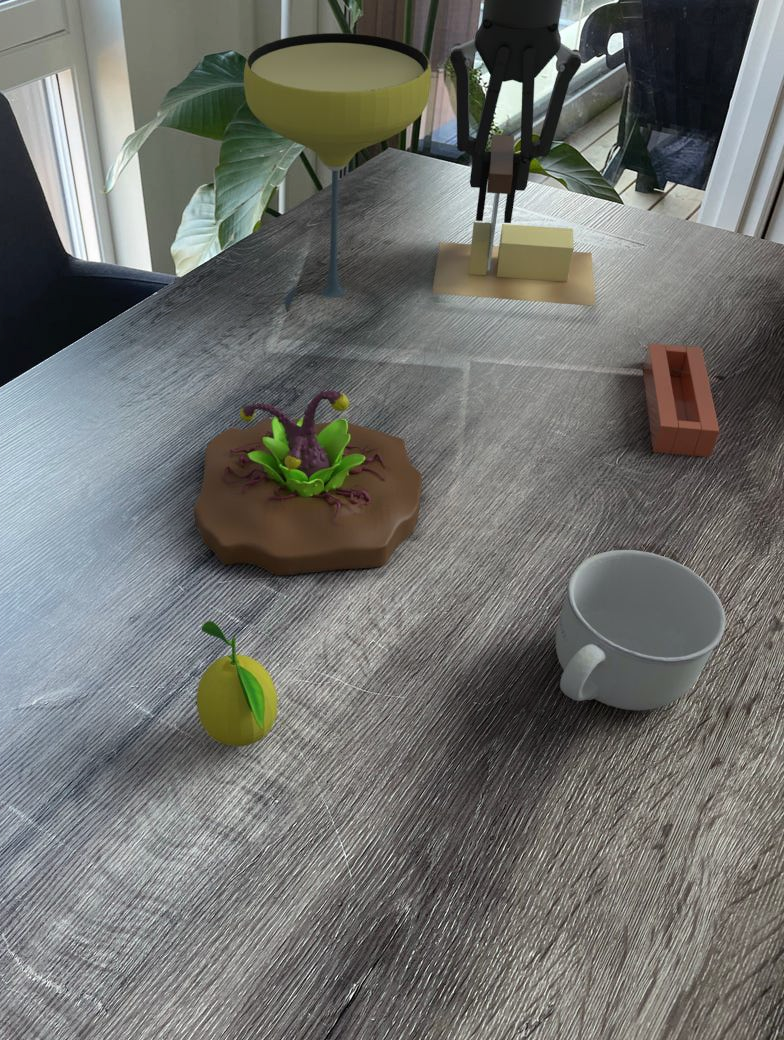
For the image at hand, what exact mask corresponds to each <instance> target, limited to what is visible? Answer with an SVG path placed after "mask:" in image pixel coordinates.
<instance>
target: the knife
mask: <svg viewBox="0 0 784 1040" xmlns="http://www.w3.org/2000/svg"><path fill="white" fill-rule="evenodd" d="M514 150H515V135H503V134H492V137H491V145H490V152H491V158H490V167H489V175H488V183H487V191H486V194H493V195H494V196H493V202H492V210H491V219H490V223H491V232H490V244H489V253H488V263H487V271H490V264H491V256H492V249H493V246H494V240H495V233H496V225H497V218H498V210H499V204H500V195H507V194H510V190H511V182H512V175H513V153H515V151H514Z"/></svg>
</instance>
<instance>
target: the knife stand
mask: <svg viewBox="0 0 784 1040" xmlns="http://www.w3.org/2000/svg"><path fill="white" fill-rule="evenodd" d="M643 367H644V368H641V369H642V377H643V384H644V393H645V399H646V400H645V401H646V407H647V414H648V423H649V430H650V431H649V432H650V437H651V446H652V452H653V453H664V454H672V455H673V454H674V455H683V456H693V457H694V456H695V457H706V458H711V456H712V454H713V451H714V449H715V447H716V446H715V445H716V442H717V440H718V437H719V434H720V427H719V423H718V418H717V414H716V409H715V408H716V407H715V404H714V399H713V395H712V390H711V385H710V380H709V375H708V372H707V371H708V370H707V366H706V361H705V357H704V352H703V348H702V347H699V346H687V345H675V344H663V343H651V342H650V343H648V345H647V349H646V352H645V356H644V360H643Z"/></svg>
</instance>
